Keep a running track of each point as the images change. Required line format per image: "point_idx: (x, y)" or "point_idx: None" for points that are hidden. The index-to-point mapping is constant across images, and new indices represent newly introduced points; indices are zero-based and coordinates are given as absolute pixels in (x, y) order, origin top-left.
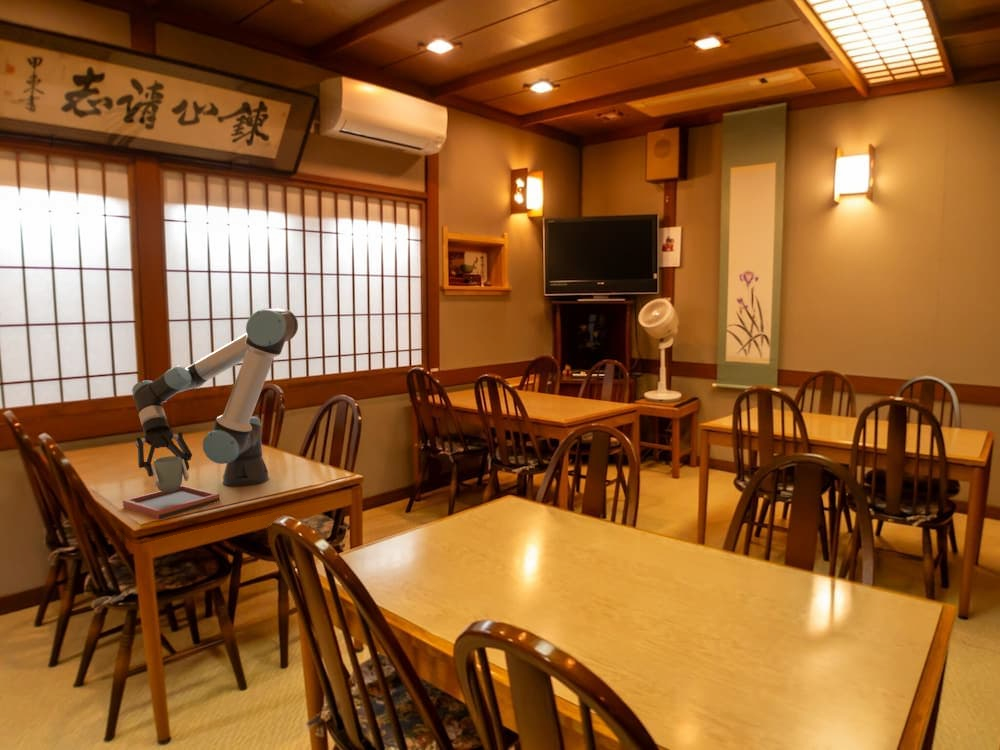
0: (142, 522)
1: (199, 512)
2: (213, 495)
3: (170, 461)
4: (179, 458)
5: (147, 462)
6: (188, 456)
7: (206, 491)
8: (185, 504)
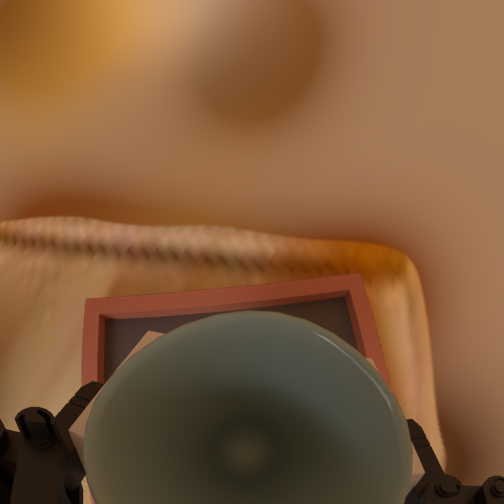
0: (397, 295)
1: (217, 250)
2: (108, 300)
3: (279, 319)
4: (104, 438)
5: (456, 491)
6: (8, 440)
7: (87, 382)
8: (244, 287)
